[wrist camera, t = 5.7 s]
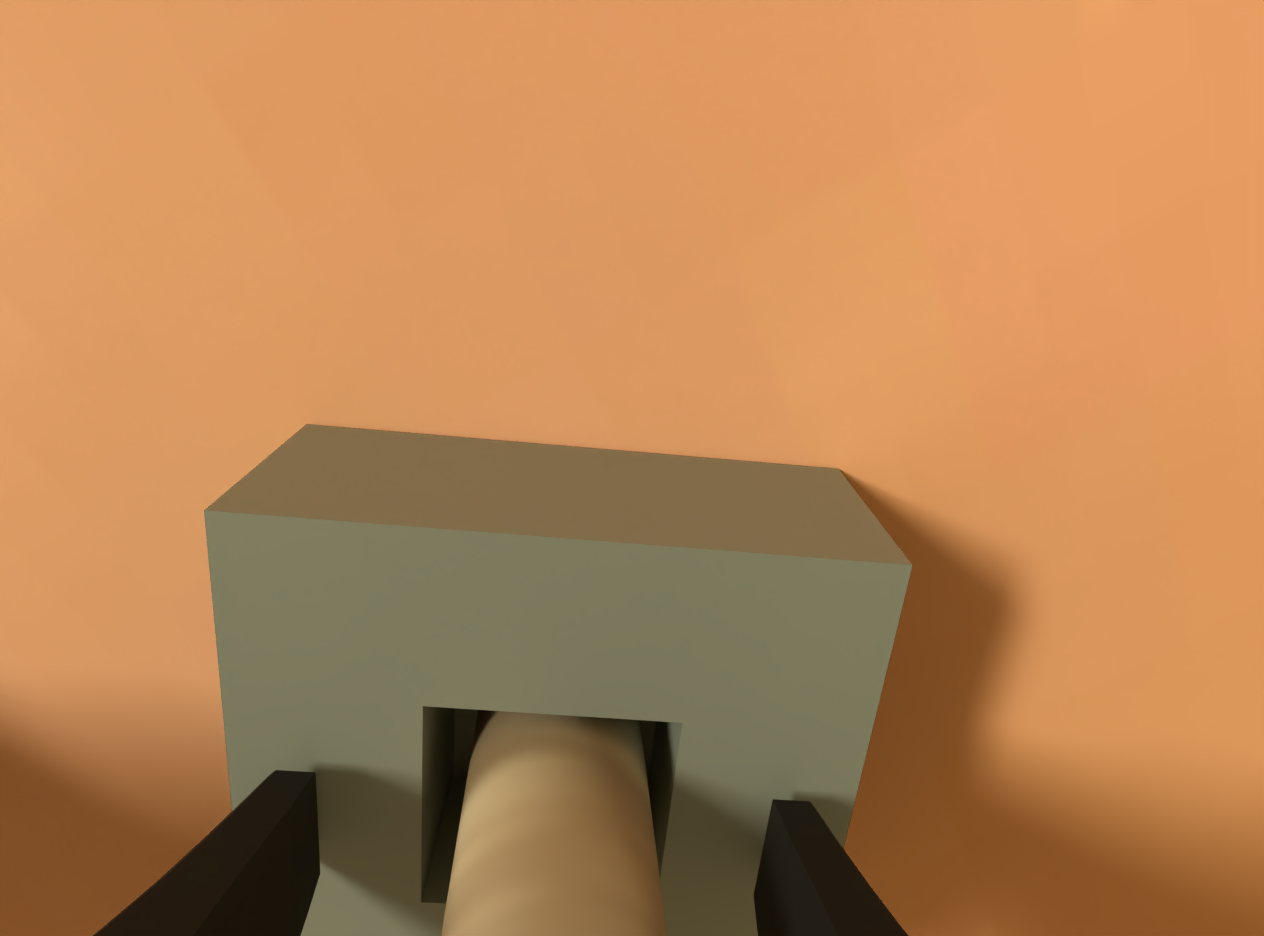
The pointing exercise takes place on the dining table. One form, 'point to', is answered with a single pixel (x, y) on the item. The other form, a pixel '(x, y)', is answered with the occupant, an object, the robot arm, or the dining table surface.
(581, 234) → the dining table surface
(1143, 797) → the dining table surface
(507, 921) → the maple peg
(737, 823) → the socket block
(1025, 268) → the dining table surface
